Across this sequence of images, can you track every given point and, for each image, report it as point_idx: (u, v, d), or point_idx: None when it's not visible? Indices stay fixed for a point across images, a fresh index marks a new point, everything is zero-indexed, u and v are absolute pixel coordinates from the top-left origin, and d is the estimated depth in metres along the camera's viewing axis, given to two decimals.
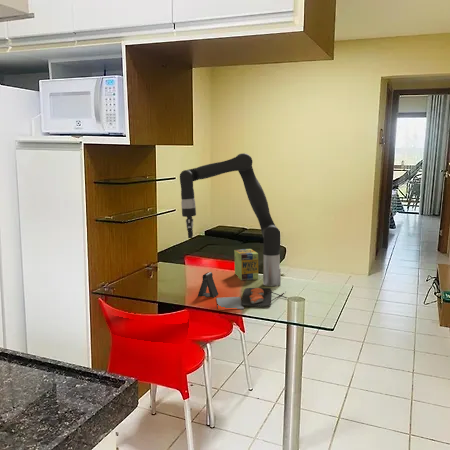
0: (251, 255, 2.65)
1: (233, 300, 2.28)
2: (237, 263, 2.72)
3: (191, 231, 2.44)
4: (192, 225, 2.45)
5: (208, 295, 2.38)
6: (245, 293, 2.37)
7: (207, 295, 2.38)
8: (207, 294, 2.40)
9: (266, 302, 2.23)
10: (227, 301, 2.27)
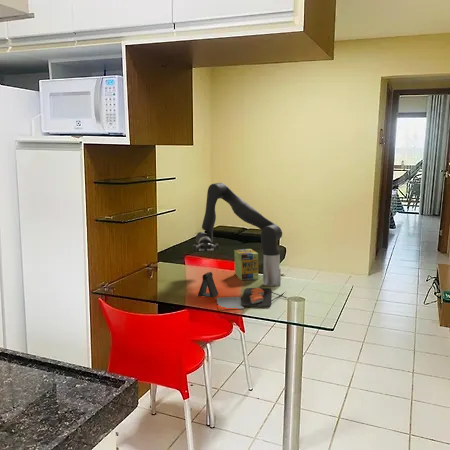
0: (251, 255, 2.65)
1: (233, 300, 2.28)
2: (237, 263, 2.72)
3: (197, 247, 2.51)
4: None
5: (208, 295, 2.38)
6: (245, 293, 2.37)
7: (207, 295, 2.38)
8: (207, 294, 2.40)
9: (266, 302, 2.23)
10: (227, 301, 2.27)
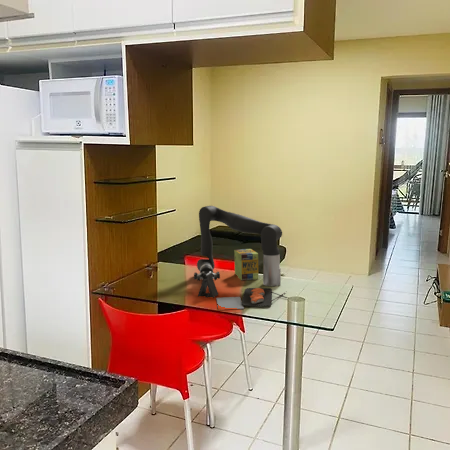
0: (251, 255, 2.65)
1: (233, 300, 2.28)
2: (237, 263, 2.72)
3: (198, 276, 2.49)
4: (200, 273, 2.52)
5: (208, 295, 2.38)
6: (245, 293, 2.38)
7: (207, 295, 2.38)
8: (207, 294, 2.40)
9: (266, 302, 2.23)
10: (227, 301, 2.27)
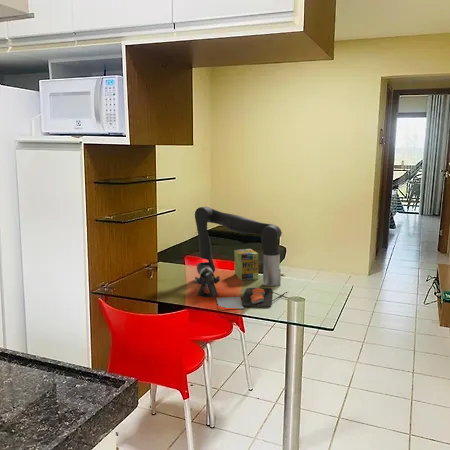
0: (251, 255, 2.65)
1: (233, 300, 2.28)
2: (237, 263, 2.72)
3: None
4: None
5: (208, 295, 2.37)
6: (246, 293, 2.38)
7: (207, 295, 2.37)
8: (206, 294, 2.40)
9: (267, 302, 2.24)
10: (227, 301, 2.27)
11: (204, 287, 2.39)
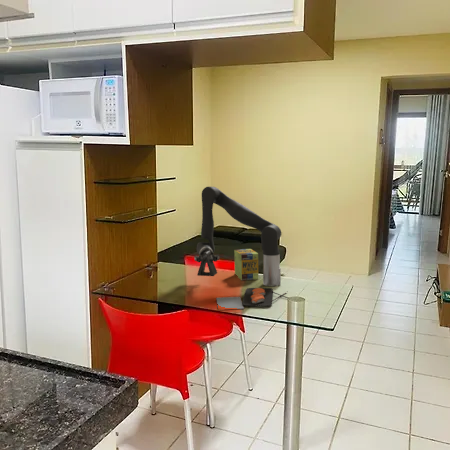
0: (251, 255, 2.65)
1: (233, 300, 2.28)
2: (237, 263, 2.72)
3: None
4: None
5: (207, 274, 2.36)
6: (246, 293, 2.38)
7: (206, 274, 2.36)
8: (206, 273, 2.38)
9: (267, 302, 2.24)
10: (227, 301, 2.27)
11: (203, 266, 2.37)
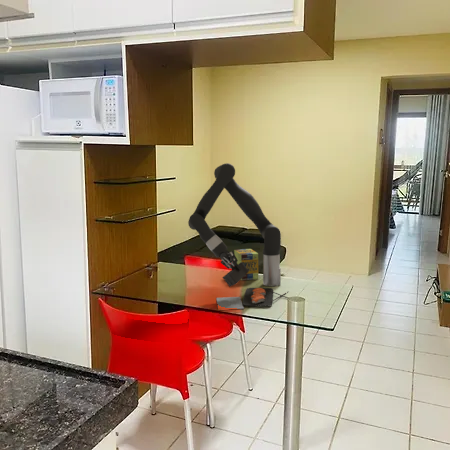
0: (251, 255, 2.65)
1: (233, 300, 2.28)
2: (237, 263, 2.72)
3: (236, 263, 2.31)
4: None
5: None
6: (247, 293, 2.38)
7: None
8: None
9: (267, 302, 2.24)
10: (227, 301, 2.27)
11: None
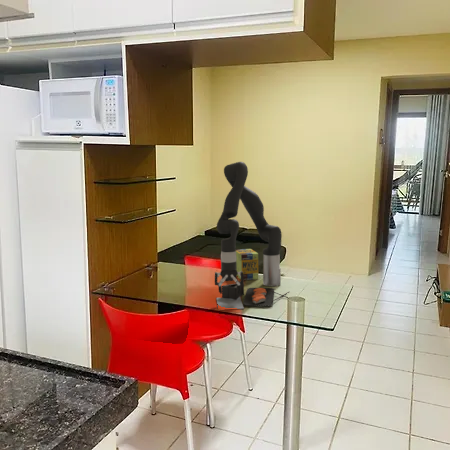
0: (251, 255, 2.65)
1: (233, 300, 2.28)
2: (237, 263, 2.72)
3: None
4: (236, 278, 2.24)
5: None
6: (248, 293, 2.38)
7: None
8: None
9: (268, 302, 2.24)
10: (227, 301, 2.27)
11: None
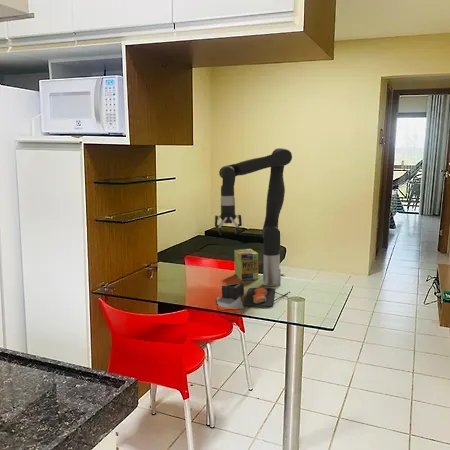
0: (251, 255, 2.65)
1: (233, 300, 2.28)
2: (237, 263, 2.72)
3: None
4: None
5: None
6: (248, 293, 2.38)
7: None
8: None
9: (269, 302, 2.24)
10: (227, 301, 2.27)
11: None
